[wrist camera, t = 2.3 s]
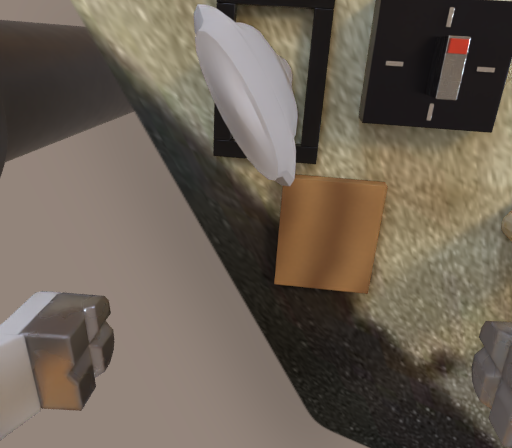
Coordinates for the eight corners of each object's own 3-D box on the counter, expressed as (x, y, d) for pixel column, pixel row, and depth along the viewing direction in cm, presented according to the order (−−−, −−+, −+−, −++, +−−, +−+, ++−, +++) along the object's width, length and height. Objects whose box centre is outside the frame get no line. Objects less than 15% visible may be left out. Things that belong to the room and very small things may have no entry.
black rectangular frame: (215, 153, 43) (213, 155, 42) (219, -18, 37) (216, -19, 36) (315, 161, 43) (316, 164, 41) (335, -11, 37) (336, -13, 36)
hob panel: (358, 117, 41) (362, 123, 38) (376, -2, 37) (382, -6, 34) (478, 126, 40) (492, 133, 37) (510, 5, 36) (528, 1, 33)
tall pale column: (223, 33, 39) (138, 21, 19) (264, 10, 38) (219, -31, 18) (276, 138, 42) (251, 225, 22) (314, 119, 41) (325, 192, 21)
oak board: (275, 277, 48) (274, 284, 47) (284, 173, 43) (283, 177, 42) (365, 286, 47) (367, 293, 46) (385, 181, 43) (387, 186, 41)
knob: (443, 95, 36) (457, 101, 33) (423, 94, 36) (436, 99, 33) (456, 37, 34) (472, 36, 31) (435, 36, 35) (450, 35, 31)
